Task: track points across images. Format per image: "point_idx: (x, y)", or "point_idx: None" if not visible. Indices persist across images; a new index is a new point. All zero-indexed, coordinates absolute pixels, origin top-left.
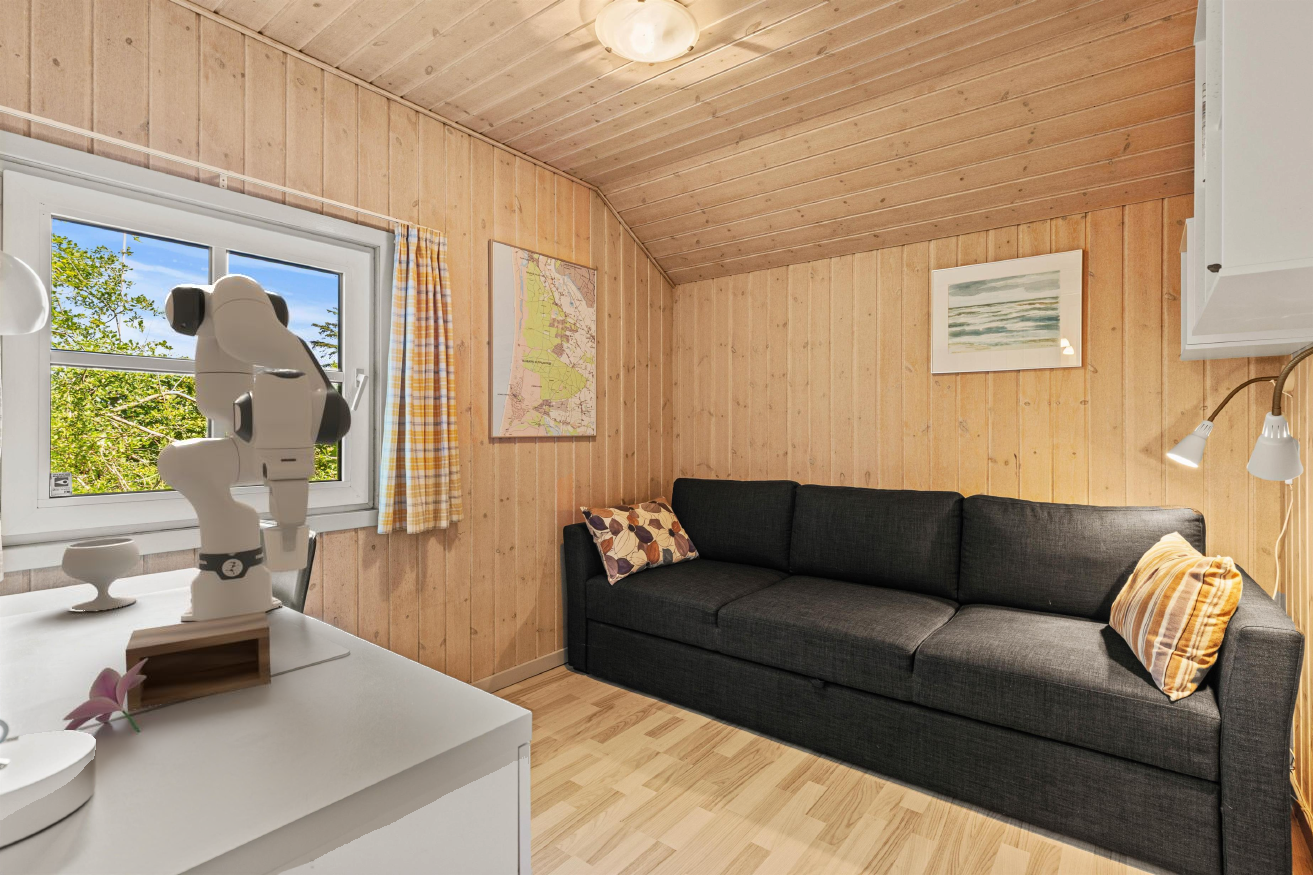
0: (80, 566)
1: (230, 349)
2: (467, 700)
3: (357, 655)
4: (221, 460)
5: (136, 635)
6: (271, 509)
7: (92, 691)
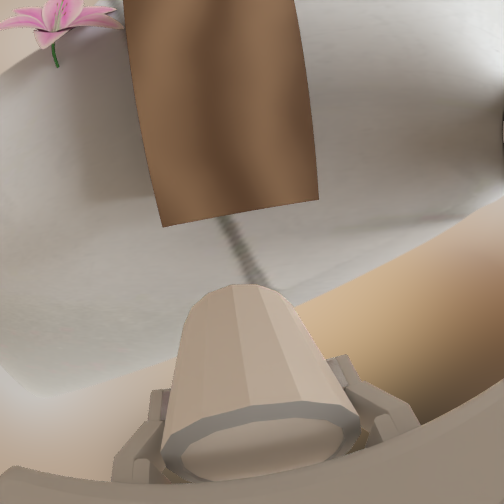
0: None
1: None
2: (62, 381)
3: None
4: None
5: None
6: (433, 461)
7: (17, 16)
